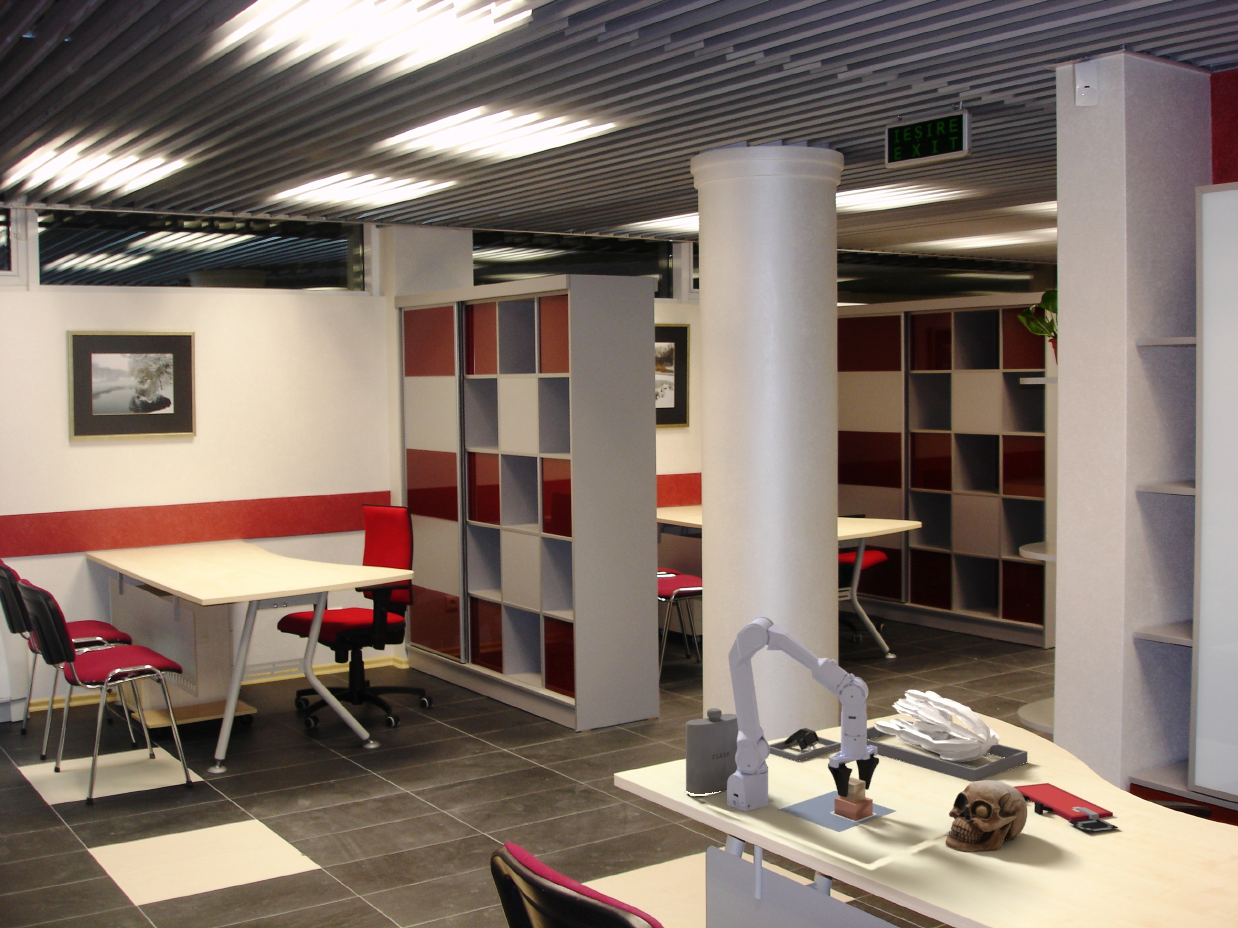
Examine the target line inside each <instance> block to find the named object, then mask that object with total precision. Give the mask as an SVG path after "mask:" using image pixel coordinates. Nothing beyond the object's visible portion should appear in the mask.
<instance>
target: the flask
mask: <svg viewBox="0 0 1238 928" xmlns="http://www.w3.org/2000/svg"><path fill="white" fill-rule="evenodd" d="M738 731H739V729H738V722H737V715H736V713H735V714H734V713H722V710H721V709H719V708H715V707H714V708H713V707H712V708H709V709H707V711H706V717H704V718H698V719H697V718H696V719H691V720H688V721H686V722H685V792H686V791H688V792H690V793H694V794H705V793H712V792H713V793H714V792H719V791H724V790H727V781H728V778H729V777H730V776H731V775H732V774H734V773H735V772H736V770H737V764H736V762H735V755H736V752H737V737H738ZM724 792H725V791H724Z"/></svg>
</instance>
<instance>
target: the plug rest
mask: <svg viewBox="0 0 1238 928" xmlns="http://www.w3.org/2000/svg"><path fill="white" fill-rule="evenodd" d="M818 738H819V740H820V742H819V743H818V744H821V745H824V746H822V747H819V748H818V747H817V749H811V751H809V750H808V751H804V752H801V753H798V754H796V753H792V752H789V751H786V750H784V749H782V748H786V747H789V746H790V747H791V746H794V745H798V743H797V741H795V742H792V743H790V744H787V745H785V740H786V739H785V740H781V741H778V742H774V743H771V744H769V747H770V754H772V755H774V756H778V757H781V756H782V757H781V758H785V759H787V758H788V759H787V760H790V759H792V760H791V761H794V760H795V761H794V762H800V761H799V760H801V761H804V760H806V758H807V759H811V758H814V757H818V756H820V755H824V754H828V753H830V751H831V752H834V751H837V750H836V749H838V750H840V749H839V748H841V742H838V741H835V740H833V739H827V738H825V737H822V736H818ZM833 750H834V751H833ZM827 752H828V753H827ZM803 759H804V760H803Z"/></svg>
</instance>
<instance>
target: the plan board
mask: <svg viewBox="0 0 1238 928" xmlns="http://www.w3.org/2000/svg"><path fill="white" fill-rule="evenodd" d="M837 797H840V796H839V795H838V792H837V790H833V791H830V792H826V793H824V794H821V795H818V796H815V797H812V798H809V799H806V800H803V801H800V802H799V801H798V802H797V803H793V804H791V805H787V806H785V807H780V808H779V809H777V811H780V812H783V813H785V814H788V815H790V816H794V817H797V818H799V819H802V820H804V821H807V822H811V823H813V824H815V825H819V826H820V827H824V828H827V829H828V830H829V829H830V830H833V831H835V832H837V833H841V832H843V831H846V830H848V829H851V828H854V827H856V826H859V825H862V824H864V823H865V824H866V823H867V822H870V821H873V820H876V819H878V818H881V817H885V816H887V815H889V814H892V813H895V812H896V810H895V809H892V808H888V807H886V806H884V805H879V804H876V803H874V802H873V815H870V816H867V817H864V818H862V819H859V820H856V821H855V820H852V819H849V818H846V817H843V816H840V815H838V814H835V798H837Z"/></svg>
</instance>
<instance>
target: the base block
mask: <svg viewBox="0 0 1238 928" xmlns="http://www.w3.org/2000/svg"><path fill="white" fill-rule="evenodd" d="M873 801H874V800H873V798H869V797H867V796H865V799H864V800H861V801H858V802H855V803H853V802H850V801H847V800H844V799H841V798H840V797H837V798H835V814H838V815H840V816H843V817H846V818H849V819H852V820H855V821H856V820H859V819H862V818H864V817H867V816H870V815H873V803H874V802H873Z"/></svg>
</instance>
